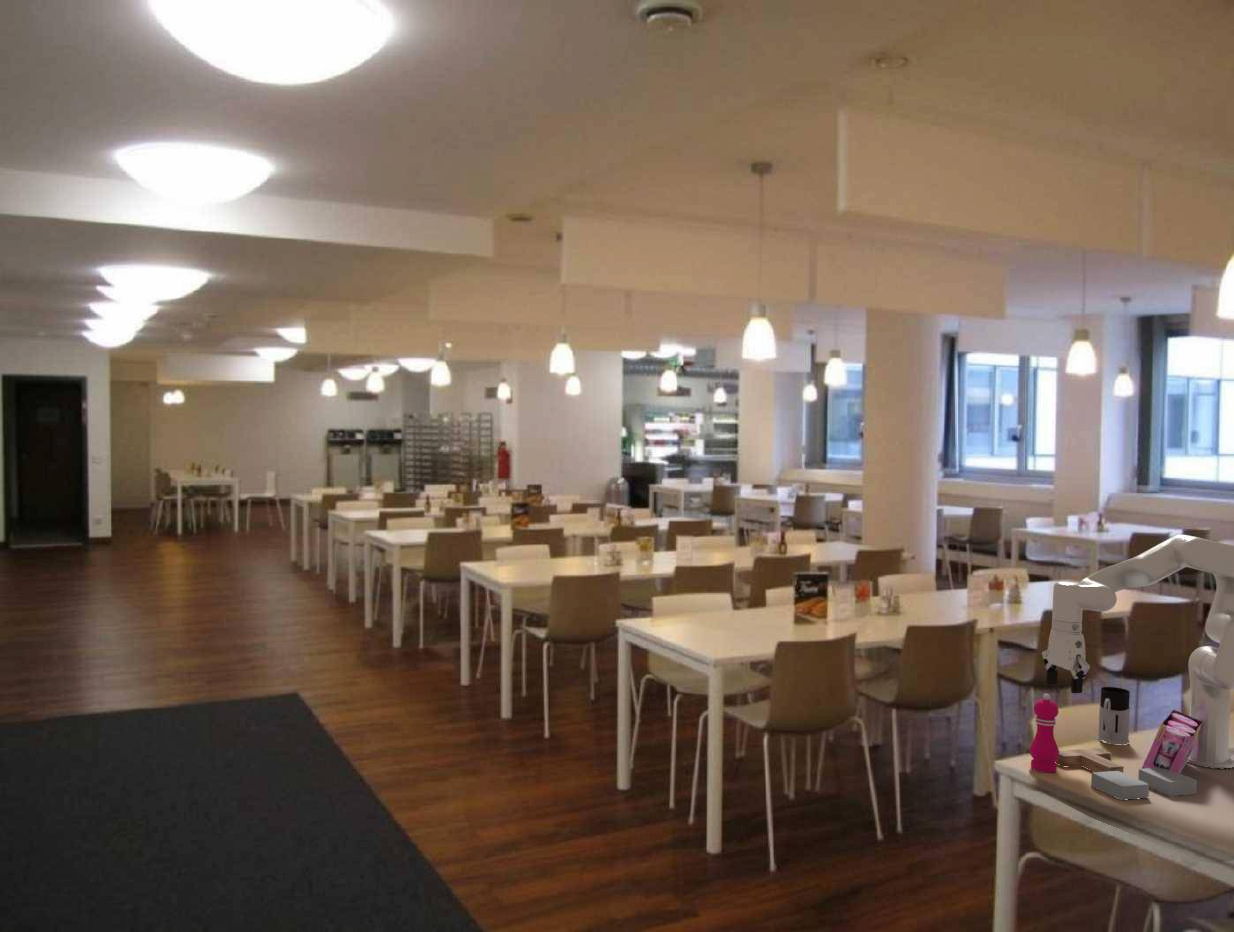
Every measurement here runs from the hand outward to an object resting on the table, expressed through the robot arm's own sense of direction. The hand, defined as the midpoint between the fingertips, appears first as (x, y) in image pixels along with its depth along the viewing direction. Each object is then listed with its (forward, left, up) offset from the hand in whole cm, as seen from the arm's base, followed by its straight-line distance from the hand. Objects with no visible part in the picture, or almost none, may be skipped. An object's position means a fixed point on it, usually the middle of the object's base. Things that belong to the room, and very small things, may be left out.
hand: (1063, 688), depth 273 cm
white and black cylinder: (-22, -6, -19) cm, 30 cm away
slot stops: (0, +29, -18) cm, 34 cm away
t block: (0, +12, -18) cm, 22 cm away
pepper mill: (+14, +10, -19) cm, 25 cm away
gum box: (-18, +17, -18) cm, 31 cm away
